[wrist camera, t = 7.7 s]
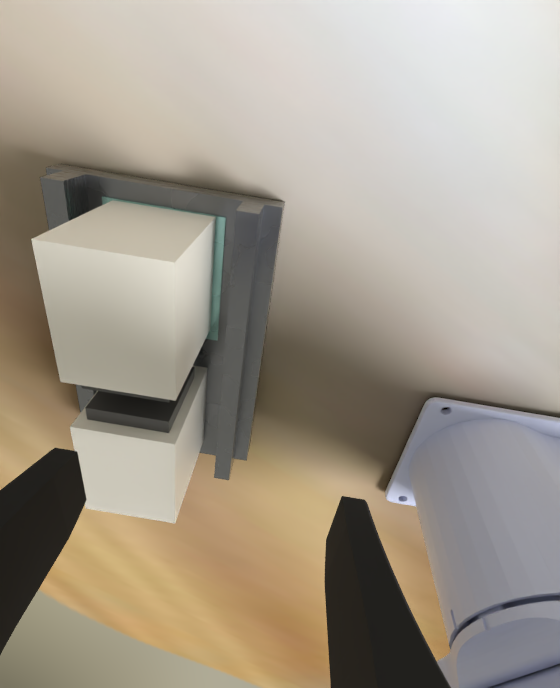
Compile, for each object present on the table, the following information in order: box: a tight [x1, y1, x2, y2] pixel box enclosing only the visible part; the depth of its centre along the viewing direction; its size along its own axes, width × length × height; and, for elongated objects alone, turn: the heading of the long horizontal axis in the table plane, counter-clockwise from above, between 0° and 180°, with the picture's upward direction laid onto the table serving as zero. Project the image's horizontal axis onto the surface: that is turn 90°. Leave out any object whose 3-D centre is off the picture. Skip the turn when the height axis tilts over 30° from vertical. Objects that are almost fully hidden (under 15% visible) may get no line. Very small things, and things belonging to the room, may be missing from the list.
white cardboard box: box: [31, 200, 216, 402], centre depth 14 cm, size 4×6×5 cm
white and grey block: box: [70, 365, 207, 523], centre depth 18 cm, size 4×6×5 cm
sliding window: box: [40, 164, 285, 480], centre depth 18 cm, size 9×14×2 cm, turn 172°
